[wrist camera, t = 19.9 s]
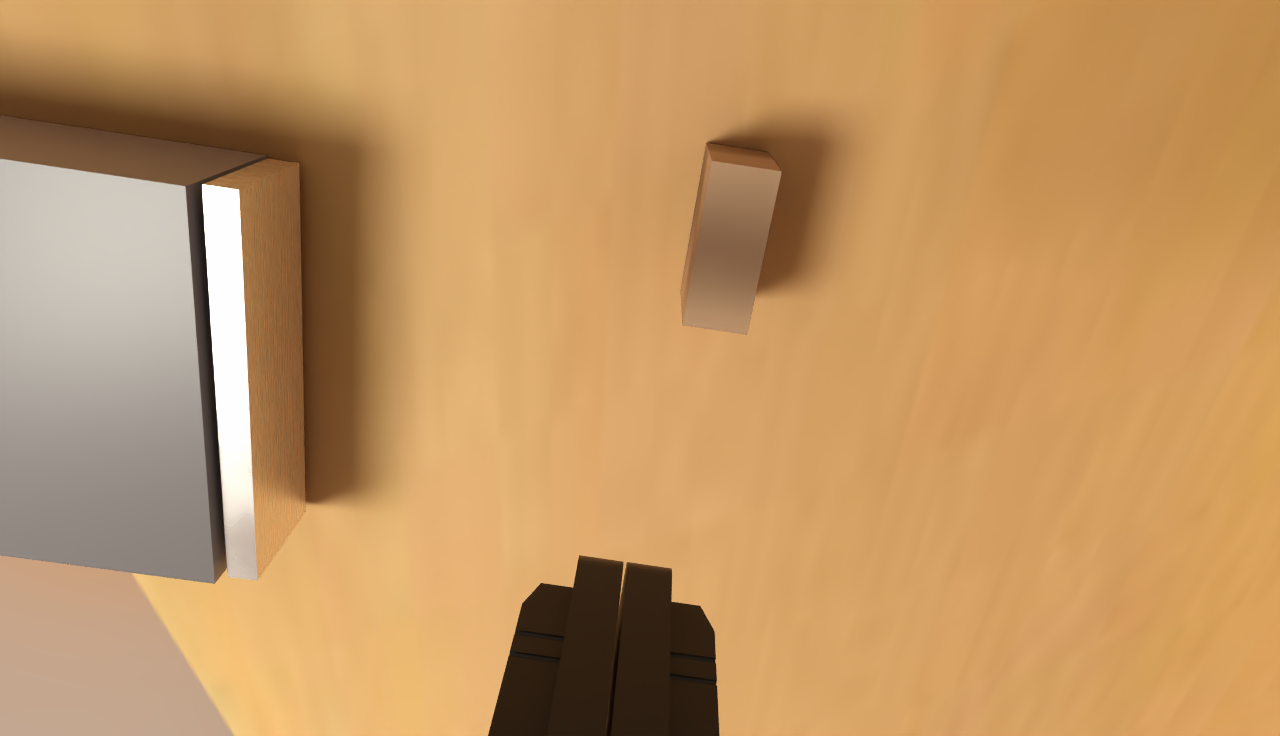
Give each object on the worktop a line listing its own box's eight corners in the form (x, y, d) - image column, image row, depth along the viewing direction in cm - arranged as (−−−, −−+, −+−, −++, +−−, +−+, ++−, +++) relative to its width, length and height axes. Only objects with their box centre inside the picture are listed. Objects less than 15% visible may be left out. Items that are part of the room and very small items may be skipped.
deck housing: (-155, 91, 32) (-325, 110, 26) (266, 155, 32) (185, 186, 27) (-73, 453, 38) (-196, 529, 33) (278, 501, 39) (214, 583, 33)
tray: (-121, 99, 32) (-255, 116, 27) (299, 163, 32) (238, 189, 28) (-44, 464, 38) (-142, 527, 33) (305, 511, 38) (257, 580, 34)
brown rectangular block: (706, 142, 32) (711, 160, 28) (768, 152, 32) (781, 171, 28) (680, 290, 34) (682, 325, 31) (738, 299, 34) (747, 334, 31)
